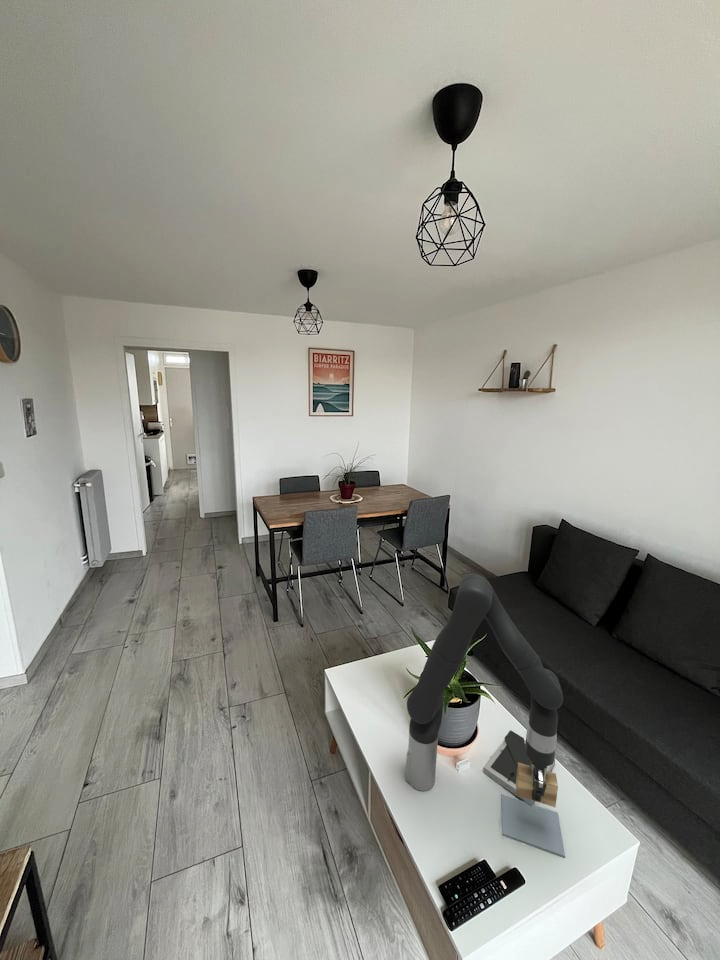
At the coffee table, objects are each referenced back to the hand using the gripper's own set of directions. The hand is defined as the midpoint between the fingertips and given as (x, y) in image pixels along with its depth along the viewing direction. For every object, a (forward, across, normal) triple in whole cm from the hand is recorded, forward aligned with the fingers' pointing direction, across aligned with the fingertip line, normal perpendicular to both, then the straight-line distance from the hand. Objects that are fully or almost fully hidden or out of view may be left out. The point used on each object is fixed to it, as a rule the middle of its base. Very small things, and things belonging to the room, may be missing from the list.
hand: (535, 792), depth 107 cm
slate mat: (+12, 0, 0) cm, 12 cm away
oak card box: (+1, 0, 0) cm, 1 cm away
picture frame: (+11, +18, +2) cm, 22 cm away
